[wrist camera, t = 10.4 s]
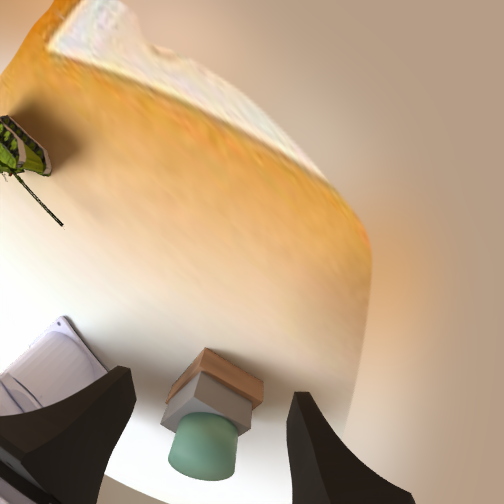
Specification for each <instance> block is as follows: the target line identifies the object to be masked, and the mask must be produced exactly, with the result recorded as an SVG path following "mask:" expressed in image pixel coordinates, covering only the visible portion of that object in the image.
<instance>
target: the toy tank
mask: <svg viewBox="0 0 504 504" xmlns="http://www.w3.org/2000/svg"><path fill="white" fill-rule="evenodd" d="M29 137H30V138H29ZM31 139H32V140H31ZM37 145H38V146H37ZM39 147H40V148H39ZM44 159H45V160H46V161H45V160H44ZM42 160H43V161H42ZM23 169H25V170H29V171H34V172H37V173H38V174H40V175H43V176H50V172H51V170H52V165H51V162H50V159H49V156H48V152H47V150H46V149H45V148H44V147H42V146H41V145H40V144H39V143H38V142H37V141H36V140H34V139H33V138H32V137H31V136H30V135H29V134H28V133H27V132H26V131H25V130H24V129H23V128H22V127H21V126H20V125H19V124H18V123H17V122H16V121H14V120H13V119H12V118H11V117H10V116H8V115H6V116H1V117H0V173H3V171H4V172H7V173H9V176H12V174H13V175H15V177H16V176H17V177H16V178H17V180H18V181H19V182H20V183H21V184H22V185H23V184H24V185H25V186H26V187H27V188H26V187H25V186H24V185H23V186H24V187H25V188H26V189H27V191H28V192H29V193H30V194H31V195H32V194H33V195H34V196H36V195H35V194H34V193H33V192H32V191H31V190H30V189H29V188H28V186H27V185H26V184H25V183H24V181H23V180H22V179H21V178H20V177H19V176H18V175H17V173H22V172H25V170H23ZM2 175H3V174H2ZM4 175H6V174H4ZM4 175H3V176H4ZM4 178H5V176H4ZM6 181H7V180H6ZM22 182H23V183H22ZM28 189H29V190H30V191H29V190H28ZM33 195H32V196H33ZM34 196H33V197H34ZM36 197H37V196H36ZM34 198H35V197H34ZM37 198H38V197H37ZM35 199H36V198H35ZM36 201H37V202H38V201H40V200H39V199H36ZM40 202H41V201H40ZM40 202H38V203H39V204H40V205H41V206H42V207H43V208H44V209H45V208H46V209H47V210H48V211H49V212H50V213H51V214H52V215H53V216H54V217H55V218H56V219H57V220H58V221H59V222H60V223H61V224H62V225H64V224H63V223H62V222H61V221H60V220H59V219H58V218H57V217H56V216H55V215H54V214H53V213H52V212H51V211H50V210H49V209H48V208H47V207H46V206H45V205H44V204H43V203H42V202H41V203H40ZM46 209H45V210H46ZM47 210H46V211H47ZM48 211H47V212H48ZM49 212H48V213H49ZM50 213H49V214H50ZM51 214H50V215H51ZM52 215H51V216H52ZM53 216H52V217H53ZM54 217H53V218H54ZM55 218H54V219H55ZM56 219H55V221H56V222H57V223H58V224H59V225H60V226H61V227H62V225H61V224H60V223H59V222H58V221H57V220H56ZM63 228H64V227H63Z"/></svg>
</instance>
